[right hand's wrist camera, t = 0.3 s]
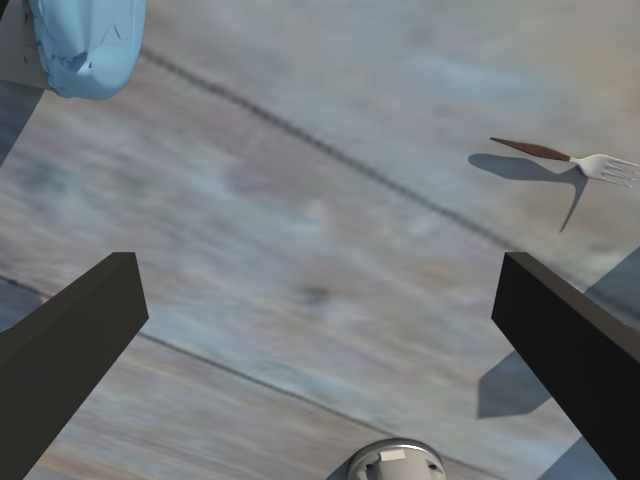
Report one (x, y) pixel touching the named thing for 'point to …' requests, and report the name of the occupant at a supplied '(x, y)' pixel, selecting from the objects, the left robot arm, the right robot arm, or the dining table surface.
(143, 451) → the dining table surface
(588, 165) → the fork
